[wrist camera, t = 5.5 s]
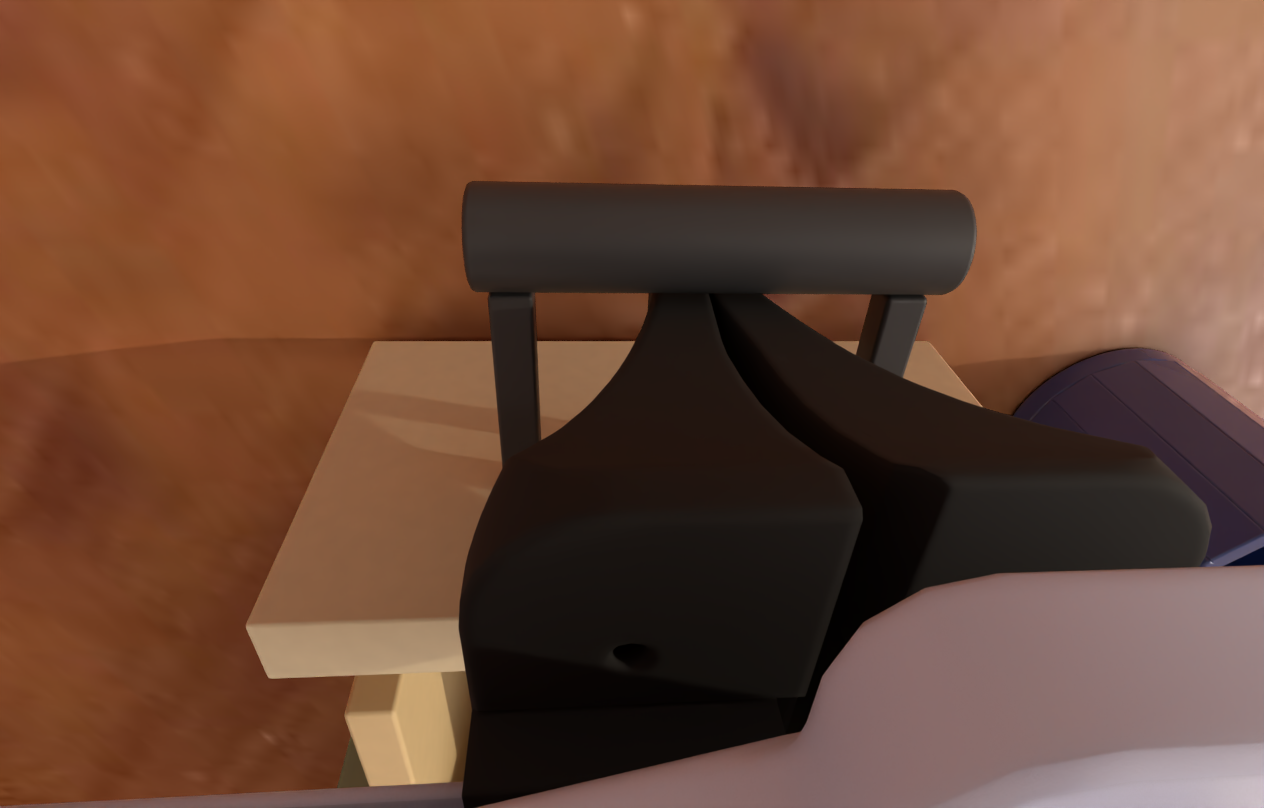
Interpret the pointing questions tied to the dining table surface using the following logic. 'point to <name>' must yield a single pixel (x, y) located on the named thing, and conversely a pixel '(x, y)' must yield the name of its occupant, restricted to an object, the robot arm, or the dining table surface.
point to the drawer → (547, 413)
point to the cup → (1171, 435)
